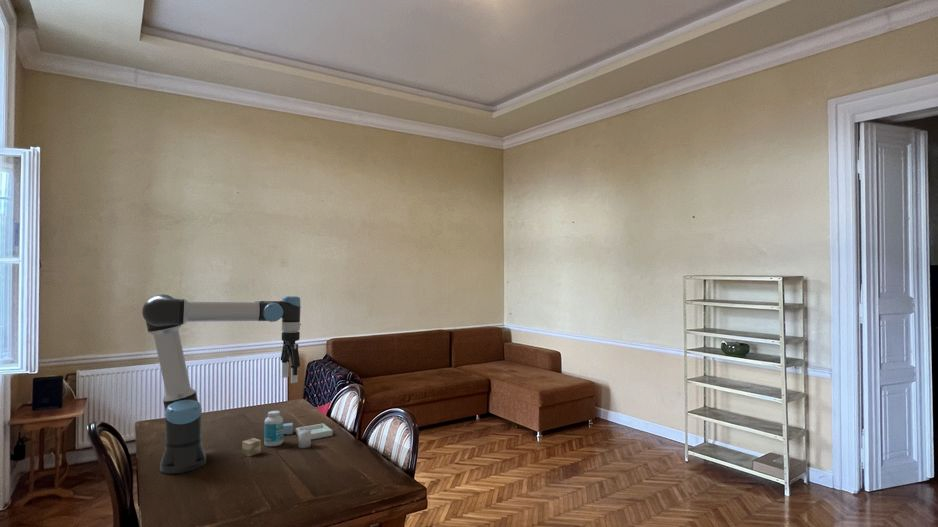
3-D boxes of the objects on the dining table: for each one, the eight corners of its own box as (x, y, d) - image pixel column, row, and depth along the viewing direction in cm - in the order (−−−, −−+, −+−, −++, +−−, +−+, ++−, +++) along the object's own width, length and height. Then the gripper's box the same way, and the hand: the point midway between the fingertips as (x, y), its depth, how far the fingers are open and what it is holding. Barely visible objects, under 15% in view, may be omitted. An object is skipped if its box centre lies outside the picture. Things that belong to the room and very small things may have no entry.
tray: (304, 440, 219) (304, 435, 219) (295, 433, 229) (295, 428, 229) (332, 435, 226) (332, 430, 226) (323, 428, 236) (323, 423, 236)
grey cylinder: (300, 448, 209) (300, 434, 209) (296, 445, 213) (296, 431, 213) (312, 446, 212) (312, 432, 212) (308, 443, 216) (308, 429, 216)
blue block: (278, 435, 226) (278, 426, 226) (278, 432, 230) (278, 424, 230) (292, 434, 228) (292, 425, 228) (292, 431, 232) (292, 422, 232)
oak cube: (249, 456, 201) (249, 443, 201) (242, 453, 204) (242, 441, 204) (260, 452, 205) (260, 440, 205) (253, 450, 208) (253, 438, 208)
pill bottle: (279, 447, 211) (279, 414, 211) (261, 447, 211) (261, 414, 211) (285, 441, 219) (285, 409, 219) (268, 441, 219) (268, 409, 219)
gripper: (308, 333, 216) (307, 384, 215) (291, 328, 236) (289, 374, 235) (290, 334, 211) (289, 386, 211) (274, 329, 231) (273, 376, 231)
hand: (289, 380), depth 223 cm, fingers open, 13 cm apart
